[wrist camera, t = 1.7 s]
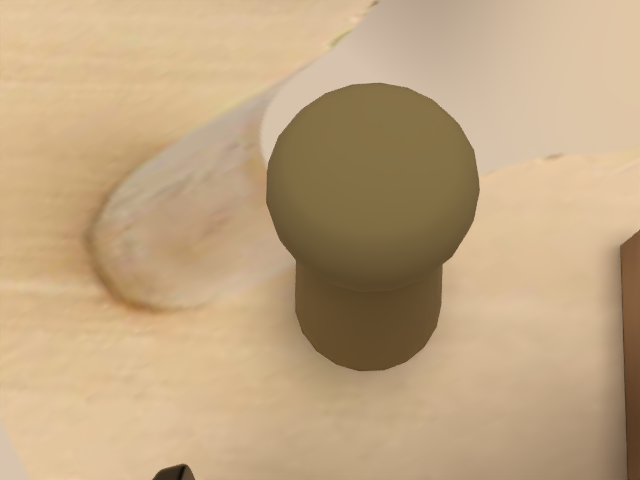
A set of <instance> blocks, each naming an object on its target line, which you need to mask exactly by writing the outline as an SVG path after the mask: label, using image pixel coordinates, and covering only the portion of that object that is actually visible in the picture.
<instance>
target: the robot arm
mask: <svg viewBox="0 0 640 480" xmlns="http://www.w3.org/2000/svg"><path fill="white" fill-rule="evenodd" d="M152 480H195V478H194V476H193V473H192V471H191V469H190V468H189V466H188V465H186V464H180V465H176V466H172V467H168V468H165V469H162V470H160V471H159V472H158V473H157V474H156V475H155V477H154V478H153V479H152Z"/></svg>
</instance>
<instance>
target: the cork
mask: <svg viewBox="0 0 640 480" xmlns="http://www.w3.org/2000/svg"><path fill="white" fill-rule="evenodd" d="M479 191H480V189H479V177H478V171H477V166H476V159H475V154H474V149H473V148H472V146H471V144H470V142H469V141H468V139H467V137H466V135H465V134H464V132H463V130H462V128H461V127H460V125H459V124H458V123H457V122H456V121H455V120H454V119H453V118H452V117H451V116H450V115H449V114H448V113H447V112H446V111H445V110H444V109H442V108H441V107H440V106H439V105H438V104H437V103H436V102H435V101H433V100H432V99H430V98H428V97H426V96H424V95H422V94H419V93H417V92H415V91H413V90H411V89H409V88H405V87H400V86H395V85H389V84H384V83H371V84H356V85H350V86H346V87H343V88H340V89H337V90H334V91H331V92H328V93H325V94H324V95H322V96H321V97H319V98H318V99H316V100H315V101H313V102H312V103H310V104H309V105H307V106H306V107H304V108H303V109H302V110H301V111H300V112H299V113H298V114H297V115H296V116H295V117H294V118H293V120H292V121H291V122H290V123H289V125H288V126H287V127H286V128H285V129H284V131H283V132H282V133H281V134H280V135H279V137H278V139H277V142H276V144H275V147H274V149H273V152H272V155H271V157H270V160H269V162H268V170H267V194H266V203H267V206H268V209H269V212H270V215H271V217H272V220H273V223H274V226H275V229H276V232H277V234H278V236H279V239H280V241H281V242H282V243H283V245H284V246H285V247H286V248H287V250H288V251H289V252H290V253H291V254H292V256H293V257H294V258H295V259H296V288H295V301H296V314H297V317H298V320H299V323H300V326H301V329H302V332H303V334H304V335H305V336H306V337H307V339H308V340H309V341H310V343H311V344H312V345H313V347H314V348H315V349H316V351H318V352H319V353H321V354H322V355H323V356H325V357H326V358H328V359H329V360H331V361H332V362H334V363H335V364H337V365H341V366H344V367H348V368H351V369H354V370H358V371H372V370H385V369H388V368H391V367H393V366H396V365H399V364H401V363H404V362H406V361H408V360H409V359H410V358H411V357H412V356H414V355H415V354H416V353H417V352H419V351H420V350H421V349H422V348H423V347H425V345H426V343H427V342H428V340H429V338H430V337H431V335H432V333H433V332H434V330H435V329H436V326H437V322H438V317H439V312H440V308H441V293H442V265H443V263H445V262H446V261H447V260H448V259H450V258H451V257H452V256H453V254H454V253H455V251H456V250H457V248H458V246H459V245H460V243H461V242H462V240H463V238H464V237H465V235H466V234H467V232H468V231H469V229H470V227H471V225H472V223H473V221H474V216H475V211H476V206H477V201H478V196H479Z"/></svg>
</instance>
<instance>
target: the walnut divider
mask: <svg viewBox="0 0 640 480" xmlns="http://www.w3.org/2000/svg"><path fill="white" fill-rule="evenodd" d="M621 267H622V299H623V331H624V363H625V395H626V427H627V459H628V480H640V230H639V231H638V232H637V233H636V234H634V235H633V236H632V237H631V238H630V239H628V240H627V241H626V242H625V243H624V244H622V245H621Z"/></svg>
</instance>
